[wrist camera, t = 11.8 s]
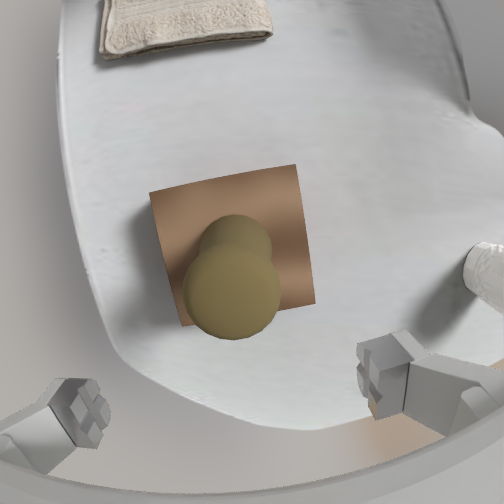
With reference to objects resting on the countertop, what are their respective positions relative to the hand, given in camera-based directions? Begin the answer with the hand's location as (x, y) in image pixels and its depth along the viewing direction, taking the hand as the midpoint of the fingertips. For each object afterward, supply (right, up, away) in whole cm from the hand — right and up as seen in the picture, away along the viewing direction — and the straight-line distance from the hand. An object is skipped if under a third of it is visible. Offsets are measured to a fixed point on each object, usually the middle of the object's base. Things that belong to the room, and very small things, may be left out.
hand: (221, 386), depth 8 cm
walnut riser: (-1, +5, +22) cm, 22 cm away
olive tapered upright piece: (0, +4, +17) cm, 18 cm away
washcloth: (-6, +30, +16) cm, 35 cm away
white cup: (+30, +2, +24) cm, 39 cm away
